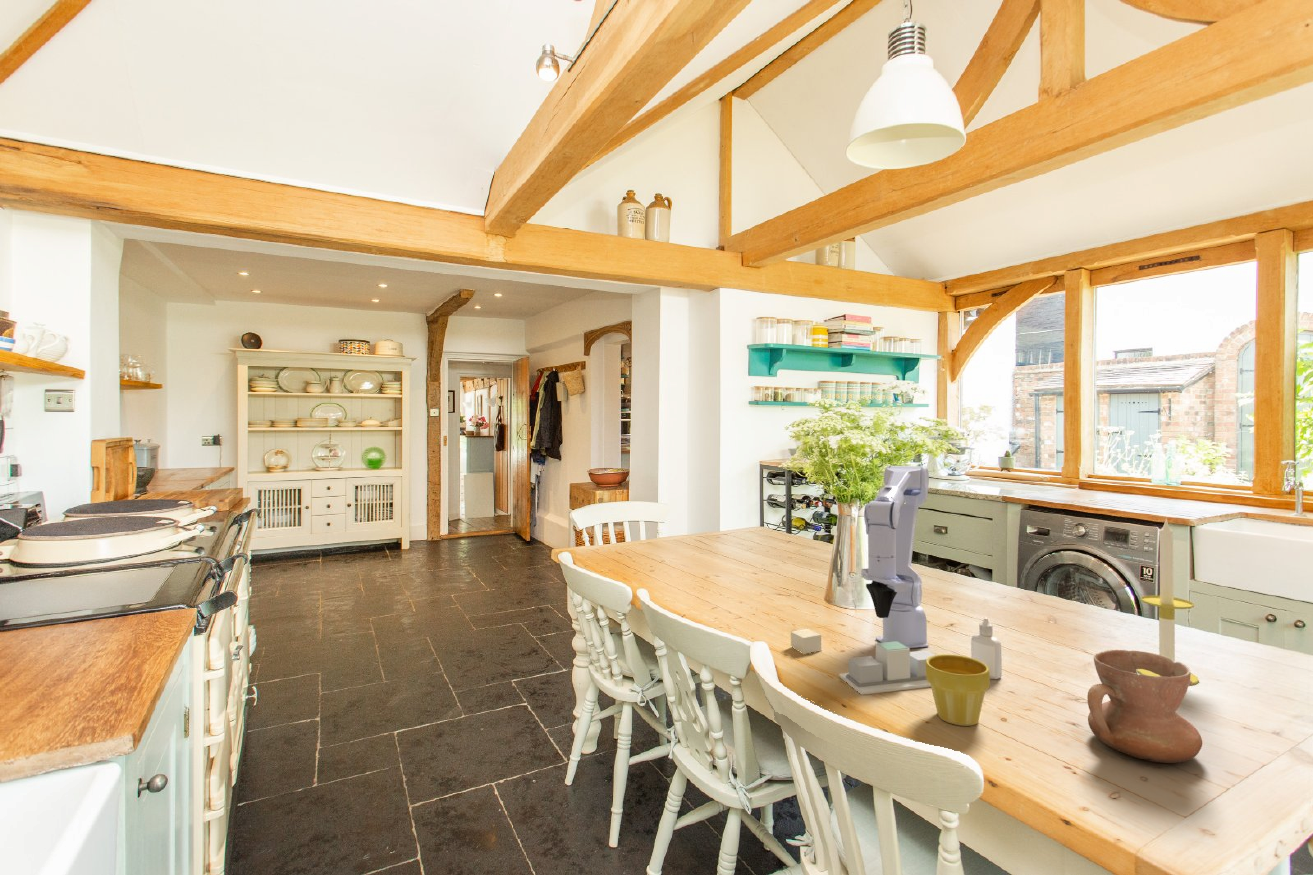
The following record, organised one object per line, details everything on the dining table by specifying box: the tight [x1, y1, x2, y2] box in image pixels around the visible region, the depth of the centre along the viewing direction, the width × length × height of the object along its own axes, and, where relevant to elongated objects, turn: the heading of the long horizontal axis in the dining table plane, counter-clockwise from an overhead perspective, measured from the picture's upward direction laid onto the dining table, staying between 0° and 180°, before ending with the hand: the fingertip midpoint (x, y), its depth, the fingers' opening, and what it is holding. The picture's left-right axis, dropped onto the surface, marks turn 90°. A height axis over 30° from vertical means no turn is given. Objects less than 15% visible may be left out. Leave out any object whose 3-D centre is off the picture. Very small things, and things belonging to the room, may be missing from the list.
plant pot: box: [926, 653, 991, 727], centre depth 112 cm, size 10×10×10 cm
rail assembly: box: [838, 649, 935, 696], centre depth 128 cm, size 20×9×5 cm, turn 101°
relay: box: [790, 628, 822, 655], centre depth 147 cm, size 5×5×4 cm
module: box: [875, 641, 911, 680], centre depth 128 cm, size 5×4×6 cm
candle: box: [1136, 518, 1200, 686], centre depth 128 cm, size 10×10×32 cm
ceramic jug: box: [1087, 649, 1203, 764], centre depth 100 cm, size 18×14×14 cm
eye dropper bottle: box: [970, 617, 1003, 680], centre depth 130 cm, size 4×6×12 cm
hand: (882, 617), depth 137 cm, fingers closed
